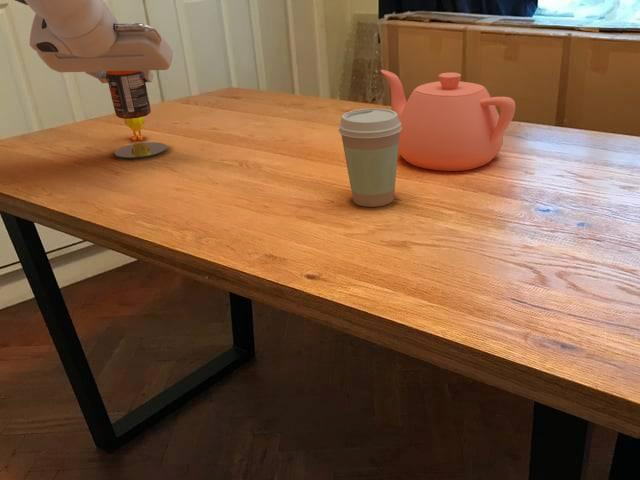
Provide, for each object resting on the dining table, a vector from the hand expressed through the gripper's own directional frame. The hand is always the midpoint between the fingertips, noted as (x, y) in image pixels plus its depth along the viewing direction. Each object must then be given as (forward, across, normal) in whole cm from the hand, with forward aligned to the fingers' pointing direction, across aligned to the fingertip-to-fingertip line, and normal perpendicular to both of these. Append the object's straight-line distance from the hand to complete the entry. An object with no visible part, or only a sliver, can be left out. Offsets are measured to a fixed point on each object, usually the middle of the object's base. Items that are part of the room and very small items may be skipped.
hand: (127, 79), depth 113 cm
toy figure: (+14, +4, +4) cm, 15 cm away
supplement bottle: (+4, 0, +5) cm, 6 cm away
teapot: (+6, -54, +12) cm, 56 cm away
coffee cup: (-8, -44, +26) cm, 52 cm away
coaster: (+8, 0, +9) cm, 13 cm away
